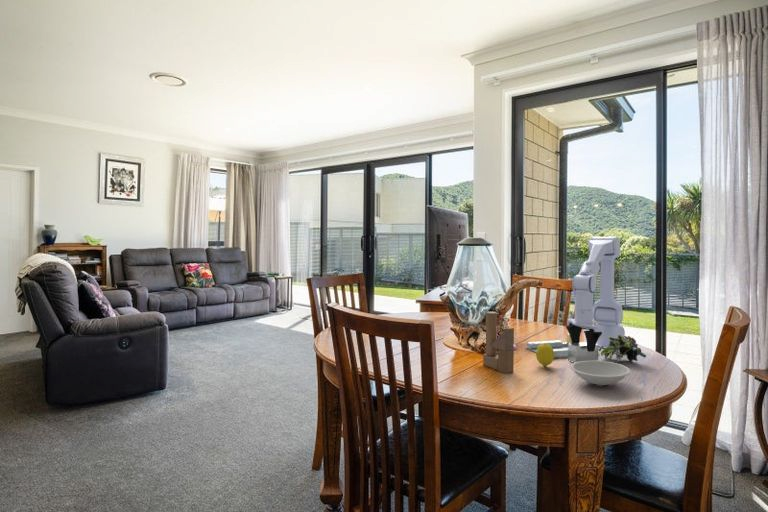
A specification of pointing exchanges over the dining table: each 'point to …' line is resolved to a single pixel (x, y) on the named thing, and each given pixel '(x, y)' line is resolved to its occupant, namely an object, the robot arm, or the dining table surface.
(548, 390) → the dining table surface
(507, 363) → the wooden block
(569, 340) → the block
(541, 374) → the dining table surface
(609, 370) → the dish
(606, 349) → the green leafy plant
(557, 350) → the vise base
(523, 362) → the dining table surface
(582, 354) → the steel block
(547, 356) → the lemon
